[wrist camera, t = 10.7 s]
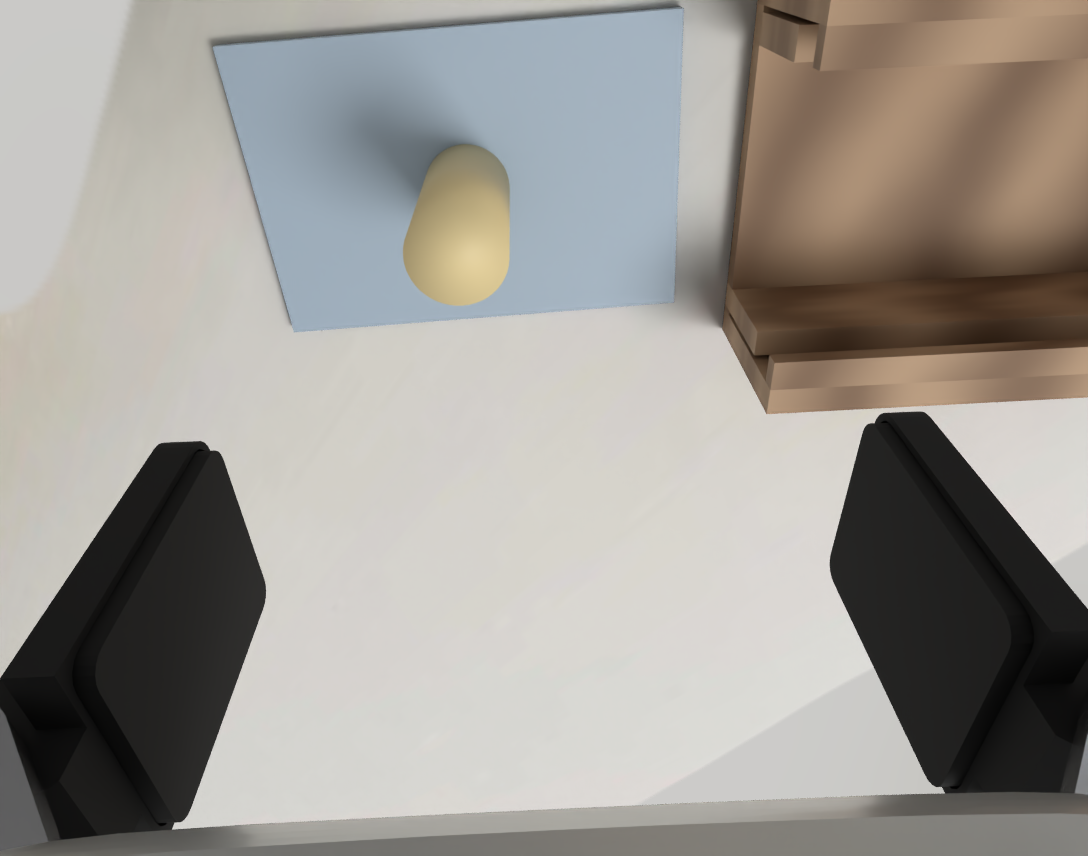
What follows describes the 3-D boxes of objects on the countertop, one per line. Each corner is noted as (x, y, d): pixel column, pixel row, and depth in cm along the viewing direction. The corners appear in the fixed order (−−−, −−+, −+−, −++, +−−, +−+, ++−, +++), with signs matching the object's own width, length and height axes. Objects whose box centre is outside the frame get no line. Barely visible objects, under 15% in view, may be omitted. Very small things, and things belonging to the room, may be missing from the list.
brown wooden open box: (1315, -57, 25) (1545, -51, 20) (1149, 307, 33) (1281, 386, 27) (761, -32, 25) (833, -18, 19) (722, 329, 33) (766, 414, 27)
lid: (678, 5, 26) (734, 34, 19) (669, 292, 32) (711, 389, 26) (221, 42, 26) (123, 84, 20) (299, 321, 32) (245, 425, 26)
